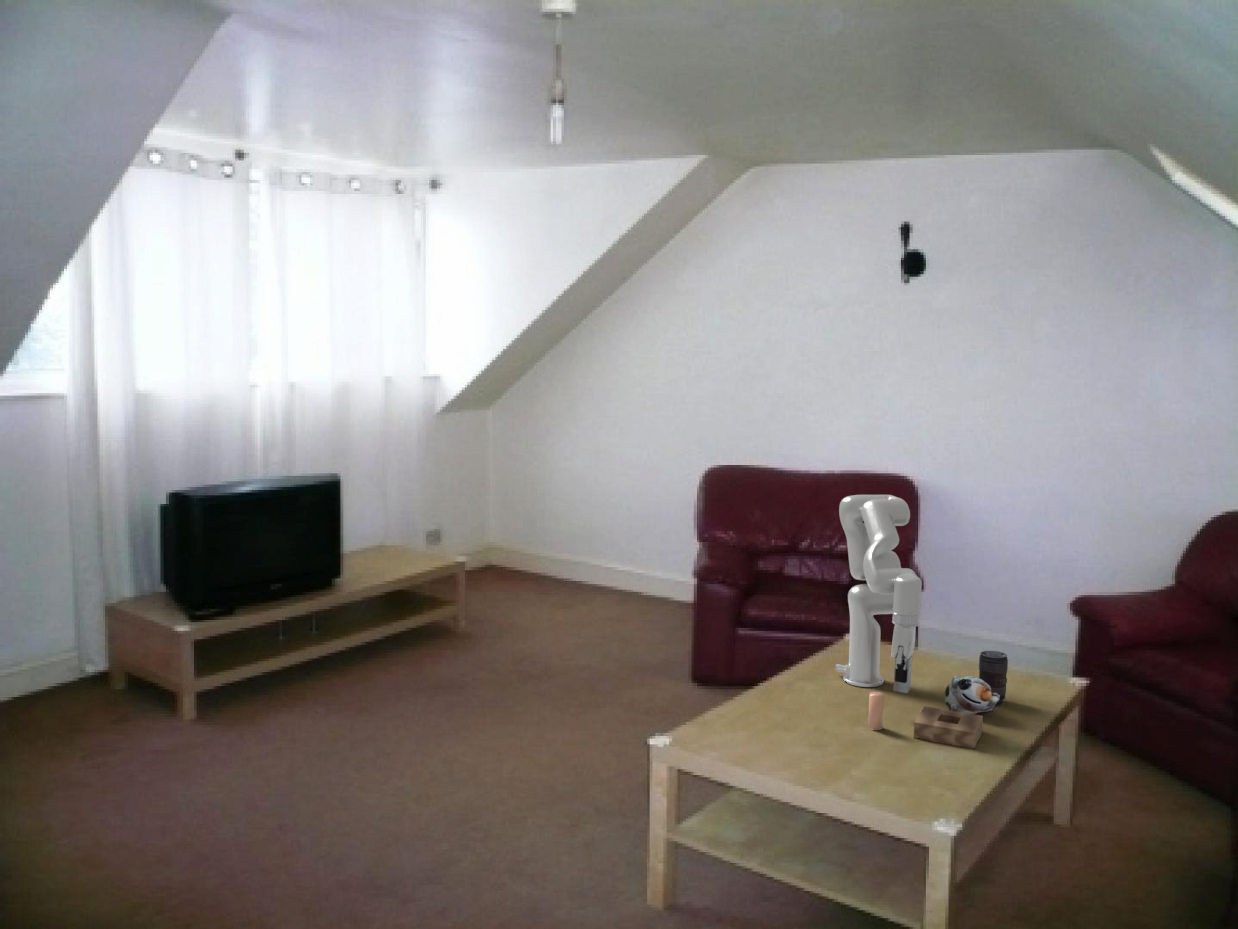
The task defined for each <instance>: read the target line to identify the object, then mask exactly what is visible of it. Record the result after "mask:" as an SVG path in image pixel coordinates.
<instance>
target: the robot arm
mask: <svg viewBox="0 0 1238 929" xmlns="http://www.w3.org/2000/svg"><path fill="white" fill-rule="evenodd" d="M838 512H839V520H840V524H841V526H842V529H843V531H844V535H845V537H846V538H845V539H846V545H847V554H848V564H849V571H850V574H851V576H852V577H853V579H854V580H858V581H866V583H861V584H856V585H854V586H852V587H851V588H850V589H849V591H848V593H847V603H848V609H849V610H848V611H849V643H848V646H849V648H848V664H845V665H844V664H841V663H840V664H838V663H836V664H835V671H836V672H838V673H843V675H842V676H843V677H842V678H843V679H842V680H843V681H844V682H845V681H846V682H847V684H849V685H851V686H854V687H861V688H875V687H880V686H882V685H883V684H884V683H885V682H884V680H885V679H884V677H883V676H881V675H880V657H881V656H880V655H881V654H880V653H881V626H880V624H879V623H878V621H877V620H876V618H874V615H875V616H876V615H892V618H891V619H892V620H891V623H892V624H893V625H894V627H893V631H892V632H893V634H892V642H891V643H892V644H891V649H890V650H891V651H890V657H891V658H892V659H895V657H896V656H897V659H896V668H895V667H894V670H895V681H896V682H902V683H906V681H907V669H906V665H907V660H908V659H909V658H910V656H913V653H914V651H915V647H916V646H915V645H916V629H917V628H916V627H918V626H920V619H921V618H920V617H921V605H922V604H921V600H922V587H923V586H922V585H923V584H922V583H923V582H922V579H921V578H920V577H919V576H918V575H917V574H916V572H915V571H914V570H913V569H911V568H908V567H905V568H903V567H902V566H901V560H900V558H899V556H898V555H897V553H896V552H895V551H893V550H894V549H896V547H897V546H898V545H899V542H900V536H899V534H898V530H897V528H896V527H903V526H906V525H907V524H908V523H909V522H910V519H911V510H910V508H909V504H908V503H907V502H906V501H905V500H904V499H903V498H901V497H897V496H895V495H892V494H855V495H847V496H845V497H844V498H842V499H841V501H840V502H839V509H838ZM902 657H905V659H904V658H902ZM902 661H904V663H903V662H902ZM846 682H845V683H846Z"/></svg>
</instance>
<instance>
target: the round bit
mask: <svg viewBox="0 0 1238 929" xmlns="http://www.w3.org/2000/svg"><path fill="white" fill-rule="evenodd" d="M868 694H869V696H868V698H869V699H868V720H867V722H868V723H867V727H869V728H871V729H874V730H881V729H884V711H885V710H884V709H885V708H884V706H885V705H884V704H885V702H884V701H885V694H884V693H882V692H880V691H870V692H869V693H868ZM869 728H868V729H869ZM881 731H882V730H881Z"/></svg>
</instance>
